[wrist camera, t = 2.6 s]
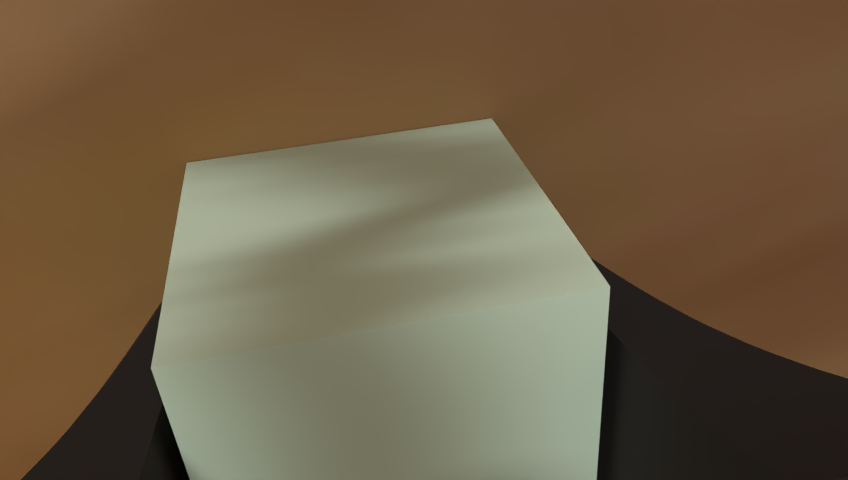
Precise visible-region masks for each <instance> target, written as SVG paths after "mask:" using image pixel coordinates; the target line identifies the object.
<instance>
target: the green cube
mask: <svg viewBox="0 0 848 480" xmlns="http://www.w3.org/2000/svg"><path fill="white" fill-rule="evenodd" d="M609 298H610V285H609V284H608V283H607V281H606V280H605V278H604V277H603V275H602V274H601V273H600V271H599V270H598V268H597V267H596V266H595V264H594V263H593V261H592V260H591V258H590V257H589V256H588V254H587V253H586V251H585V250H584V249H583V247H582V246H581V244H580V243H579V241H578V240H577V239H576V237H575V236H574V234H573V233H572V232H571V230H570V229H569V227H568V226H567V224H566V223H565V222H564V220H563V219H562V217H561V216H560V215H559V213H558V212H557V210H556V209H555V207H554V206H553V205H552V203H551V202H550V200H549V199H548V198H547V196H546V195H545V193H544V192H543V190H542V189H541V188H540V186H539V185H538V183H537V182H536V181H535V179H534V178H533V176H532V175H531V173H530V172H529V171H528V169H527V168H526V166H525V165H524V164H523V162H522V161H521V159H520V158H519V156H518V155H517V154H516V152H515V151H514V149H513V148H512V147H511V145H510V144H509V142H508V141H507V139H506V138H505V137H504V135H503V134H502V132H501V131H500V130H499V128H498V127H497V125H496V124H495V122H494V121H493V120H492V118H491V119H484V120H477V121H470V122H463V123H456V124H450V125H443V126H436V127H429V128H422V129H415V130H409V131H402V132H395V133H388V134H381V135H374V136H368V137H361V138H354V139H347V140H340V141H333V142H327V143H320V144H313V145H306V146H299V147H292V148H285V149H279V150H272V151H265V152H258V153H251V154H244V155H238V156H231V157H224V158H217V159H210V160H203V161H197V162H190V163H187V165H186V170H185V176H184V182H183V188H182V193H181V199H180V205H179V210H178V216H177V222H176V227H175V233H174V239H173V245H172V250H171V256H170V262H169V267H168V273H167V279H166V285H165V290H164V296H163V302H162V307H161V313H160V319H159V325H158V330H157V336H156V342H155V347H154V353H153V359H152V364H151V370H152V373H153V376H154V379H155V382H156V385H157V387H158V390H159V393H160V396H161V399H162V402H163V405H164V407H165V410H166V413H167V416H168V419H169V422H170V425H171V427H172V430H173V433H174V436H175V439H176V442H177V444H178V447H179V450H180V453H181V456H182V459H183V462H184V464H185V467H186V470H187V473H188V476H189V479H190V480H597V466H598V452H599V438H600V424H601V410H602V396H603V382H604V368H605V354H606V340H607V326H608V312H609Z"/></svg>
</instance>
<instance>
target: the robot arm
mask: <svg viewBox="0 0 848 480" xmlns="http://www.w3.org/2000/svg"><path fill="white" fill-rule="evenodd" d="M591 260H592V261H593V263H594V264H595V266H596V267H597V268H598V270H599V271H600V273H601V274H602V275H603V277H604V278H605V280H606V281H607V283H608V284H609V285H610V298H609V312H608V326H607V340H606V354H605V368H604V382H603V396H602V410H601V424H600V438H599V452H598V466H597V480H848V379H847V378H844V377H840V376H837V375H834V374H831V373H828V372H824V371H821V370H818V369H815V368H812V367H809V366H806V365H803V364H801V363H798V362H795V361H792V360H789V359H787V358H784V357H781V356H778V355H775V354H773V353H770V352H767V351H765V350H762V349H760V348H757V347H755V346H752V345H750V344H747V343H745V342H743V341H741V340H738V339H736V338H734V337H732V336H729V335H727V334H725V333H723V332H720V331H718V330H716V329H714V328H711V327H709V326H707V325H705V324H703V323H701V322H699V321H697V320H695V319H693V318H691V317H689V316H687V315H685V314H684V313H682V312H680V311H678V310H676V309H674V308H672V307H671V306H669V305H667V304H665V303H663V302H661V301H659V300H658V299H656V298H654V297H653V296H651V295H649V294H647V293H646V292H644V291H642V290H641V289H639V288H637V287H636V286H634V285H632V284H631V283H629V282H627V281H626V280H624V279H623V278H621V277H619V276H618V275H616V274H615V273H613V272H612V271H610V270H608V269H607V268H605V267H604V266H602V265H601V264H599V263H598V262H596V261H595V260H593V259H592V258H591ZM162 302H163V301H162ZM162 302H161V304H160V305H159V307H158V308H157V309H156V311H155V312H154V314H153V315H152V317H151V318H150V320H149V321H148V323H147V324H146V326H145V327H144V329H143V330H142V332H141V333H140V335H139V336H138V338H137V339H136V341H135V342H134V344H133V345H132V346H131V348H130V349H129V351H128V352H127V354H126V355H125V357H124V358H123V359H122V361H121V362H120V363H119V365H118V366H117V368H116V369H115V370H114V372H113V373H112V374H111V376H110V377H109V379H108V380H107V381H106V383H105V384H104V386H103V387H102V388H101V389H100V391H99V392H98V393H97V395H96V396H95V397H94V398H93V400H92V401H91V402H90V403H89V405H88V406H87V407H86V408H85V410H84V411H83V412H82V413H81V414H80V416H79V417H78V418H77V419H76V421H75V422H74V423H73V424H72V426H71V427H70V428H69V429H68V430H67V432H66V433H65V434H64V435H63V436H62V437H61V438H60V440H59V441H58V442H57V443H56V444H55V445H54V446H53V447H52V448H51V449H50V450H49V452H48V453H47V454H46V455H45V456H44V457H43V458H42V459H41V460H40V461H39V462H38V463H37V464H36V465H35V466H34V467H33V468H32V469H31V470H30V471H29V472H28V473H27V474H26V475H25V476H24V477H23V478H22V479H21V480H190V479H189V476H188V473H187V470H186V467H185V464H184V462H183V459H182V456H181V453H180V450H179V447H178V444H177V442H176V439H175V436H174V433H173V430H172V427H171V425H170V422H169V419H168V416H167V413H166V410H165V407H164V405H163V402H162V399H161V396H160V393H159V390H158V387H157V385H156V382H155V379H154V376H153V373H152V370H151V364H152V359H153V353H154V347H155V342H156V336H157V330H158V325H159V319H160V313H161V307H162Z"/></svg>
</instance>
